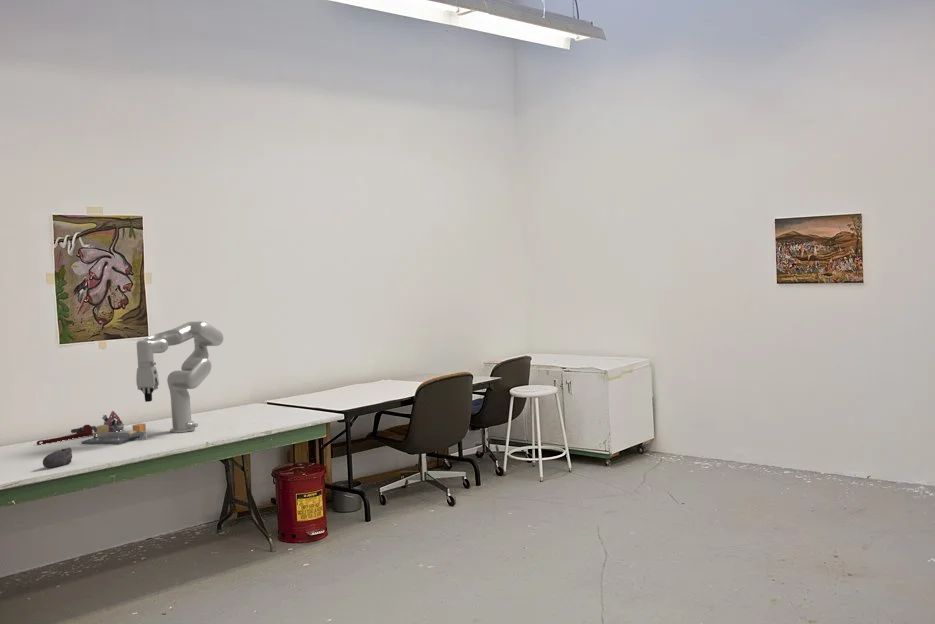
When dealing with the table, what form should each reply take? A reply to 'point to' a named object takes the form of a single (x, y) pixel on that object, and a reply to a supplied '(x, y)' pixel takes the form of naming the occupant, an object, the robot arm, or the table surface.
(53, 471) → the table surface
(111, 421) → the red grey carburetor
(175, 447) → the table surface
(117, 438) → the bolt plate
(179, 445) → the table surface
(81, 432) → the pipe wrench
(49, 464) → the perforated stone tool
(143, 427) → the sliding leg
